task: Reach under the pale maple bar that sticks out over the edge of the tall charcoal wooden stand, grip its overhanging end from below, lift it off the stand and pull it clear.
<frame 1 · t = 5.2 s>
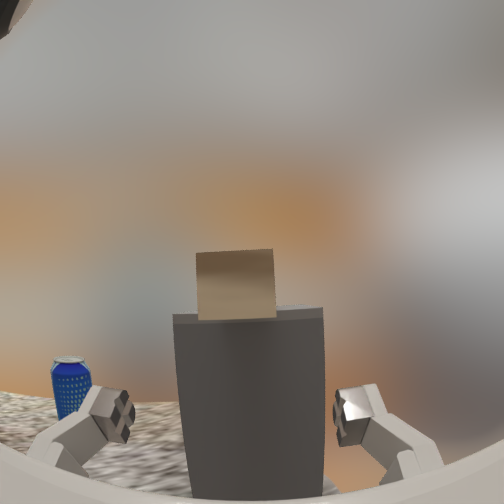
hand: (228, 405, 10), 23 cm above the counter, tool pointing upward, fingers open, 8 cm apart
maple bar: (248, 310, 27), point 26 cm above the counter, touching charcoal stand
beer can: (81, 433, 45), on the counter
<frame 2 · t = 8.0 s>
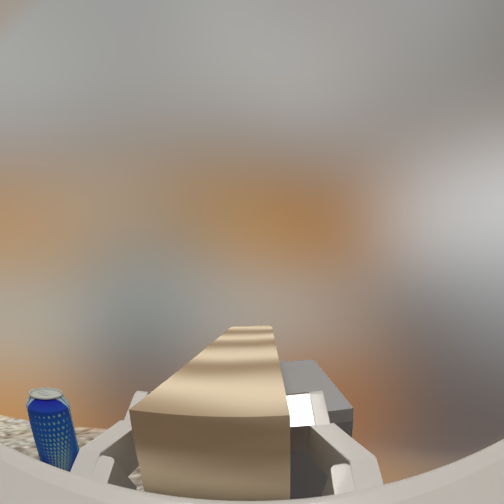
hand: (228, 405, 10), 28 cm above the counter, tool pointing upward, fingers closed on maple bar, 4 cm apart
maple bar: (245, 396, 18), point 26 cm above the counter, touching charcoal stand, gripper
beer can: (64, 469, 36), on the counter
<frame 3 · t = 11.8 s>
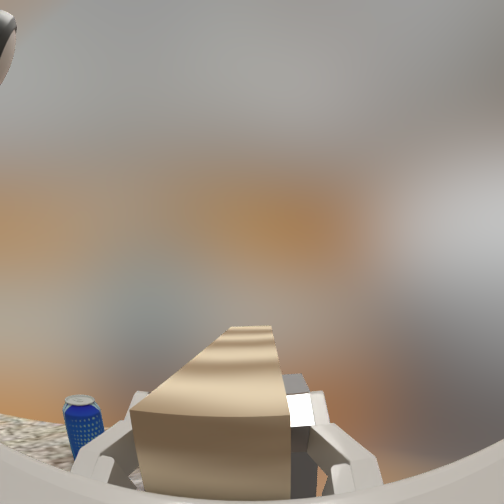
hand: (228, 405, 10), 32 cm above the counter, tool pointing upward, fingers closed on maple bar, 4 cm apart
maple bar: (244, 396, 18), point 30 cm above the counter, touching gripper
beer can: (93, 464, 46), on the counter
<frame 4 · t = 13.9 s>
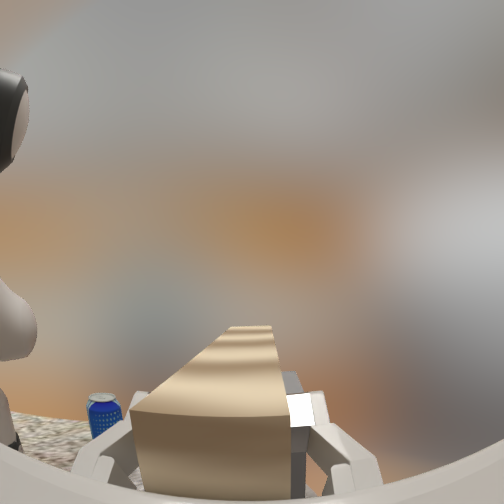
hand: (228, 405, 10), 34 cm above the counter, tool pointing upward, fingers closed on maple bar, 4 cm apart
maple bar: (244, 396, 18), point 32 cm above the counter, touching gripper
beer can: (113, 455, 55), on the counter
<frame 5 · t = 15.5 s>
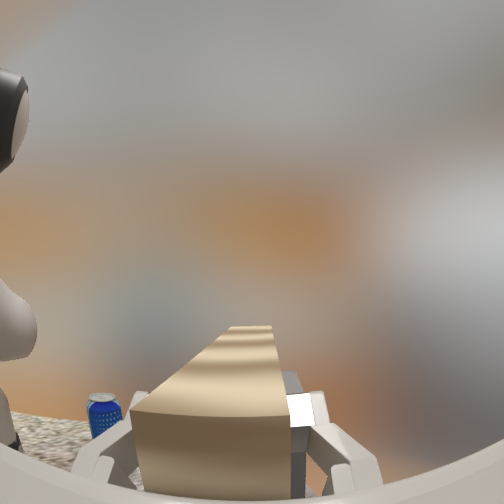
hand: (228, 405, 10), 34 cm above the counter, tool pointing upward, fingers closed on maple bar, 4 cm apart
maple bar: (244, 396, 18), point 32 cm above the counter, touching gripper
beer can: (112, 455, 55), on the counter
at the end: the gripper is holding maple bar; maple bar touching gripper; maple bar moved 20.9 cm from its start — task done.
